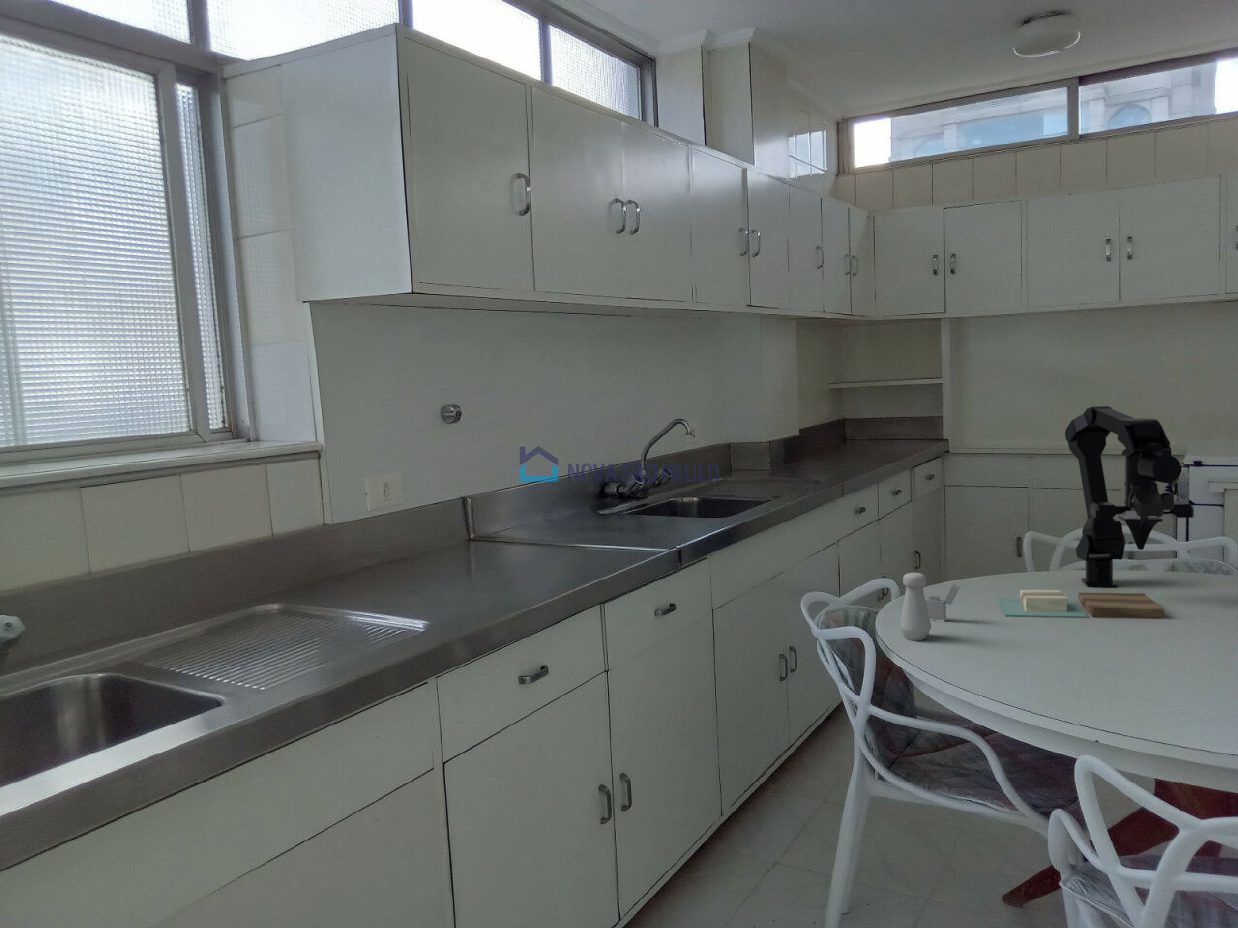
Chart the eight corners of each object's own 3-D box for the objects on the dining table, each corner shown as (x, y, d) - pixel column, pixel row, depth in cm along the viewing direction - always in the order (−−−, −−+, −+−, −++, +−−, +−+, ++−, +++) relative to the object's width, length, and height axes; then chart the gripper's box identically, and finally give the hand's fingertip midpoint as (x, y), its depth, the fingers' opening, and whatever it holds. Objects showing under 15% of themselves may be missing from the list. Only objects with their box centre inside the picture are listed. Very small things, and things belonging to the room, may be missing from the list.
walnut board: (1078, 601, 199) (1078, 592, 199) (1144, 602, 196) (1144, 593, 195) (1092, 617, 187) (1092, 607, 186) (1162, 618, 183) (1163, 608, 183)
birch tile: (1020, 602, 199) (1020, 589, 199) (1059, 603, 197) (1059, 590, 197) (1026, 611, 192) (1026, 597, 192) (1066, 611, 190) (1066, 597, 190)
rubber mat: (996, 599, 204) (996, 598, 204) (1073, 600, 200) (1073, 599, 200) (1005, 616, 191) (1005, 614, 191) (1088, 617, 186) (1088, 616, 186)
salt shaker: (931, 634, 181) (930, 570, 179) (931, 642, 175) (930, 577, 174) (901, 632, 183) (899, 570, 181) (900, 640, 177) (898, 576, 176)
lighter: (924, 619, 191) (923, 583, 190) (926, 617, 192) (925, 581, 192) (958, 623, 187) (958, 585, 186) (960, 621, 189) (960, 584, 188)
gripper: (1102, 483, 187) (1102, 556, 188) (1203, 481, 182) (1203, 556, 183) (1089, 477, 198) (1089, 546, 199) (1184, 475, 193) (1184, 546, 194)
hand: (1140, 549), depth 194 cm, fingers closed
